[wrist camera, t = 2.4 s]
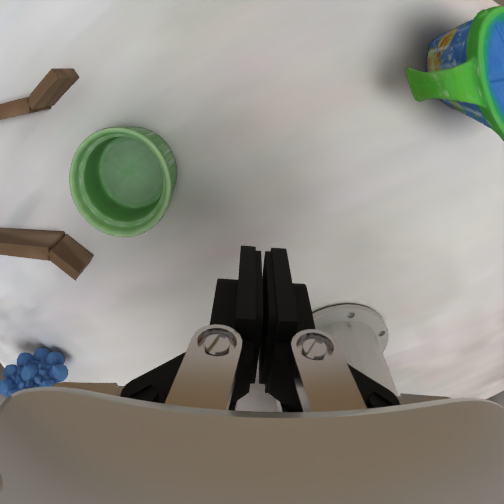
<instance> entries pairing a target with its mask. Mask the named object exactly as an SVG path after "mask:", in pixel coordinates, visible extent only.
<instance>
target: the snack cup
mask: <svg viewBox="0 0 504 504" xmlns="http://www.w3.org/2000/svg"><path fill="white" fill-rule="evenodd" d="M406 75H407V79H408V82H409V85H410V88H411V91H412V94H413V96H414V98H415V99H416V100H417V101H419V102H421V101H424V100H427V99H434V98H439V99H442V100H443V101H444V102H445V103H446V104H448V105H449V106H450V107H452V108H453V109H456V110H458V111H459V112H461V113H463V114H465V115H467V116H469V117H471V118H473V119H475V120H477V121H478V122H480V123H483V124H484V125H485V126H487V127H489V128H491V129H492V130H494V131H495V132H496V133H497V134H498V135H499V136H500V137H501V138H502V140H503V141H504V6H497V7H492V8H489V9H486V10H482V11H480V12H479V13H478V14H477V15H476V17H475V18H474V19H473V20H471V21H468V22H466V23H464V24H462V25H460V26H458V27H456V28H453V29H451V30H449V31H448V32H446V33H443V34H441V35H440V36H438V37H437V38H436V39H435V40H434V41H432V42H431V43H430V48H429V51H428V54H427V72H422V71H418V70H415V69H413V68H411V67H409V68H407V69H406Z"/></svg>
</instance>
